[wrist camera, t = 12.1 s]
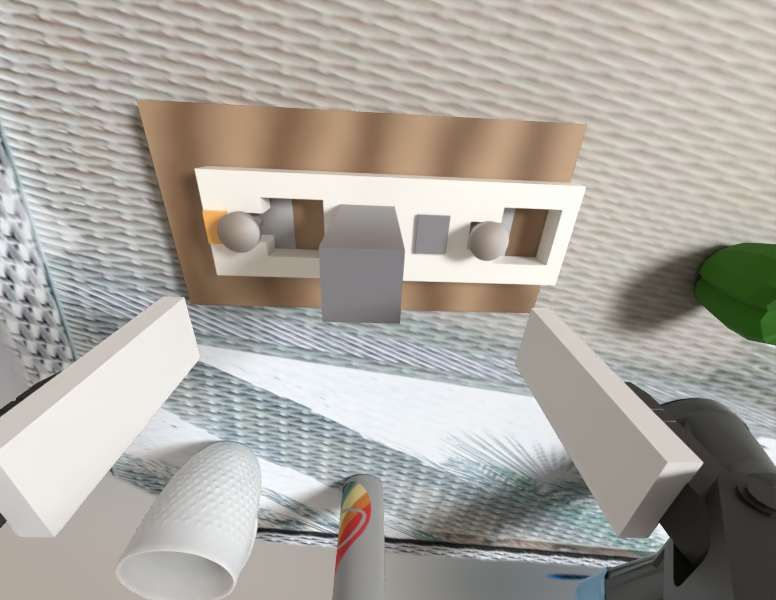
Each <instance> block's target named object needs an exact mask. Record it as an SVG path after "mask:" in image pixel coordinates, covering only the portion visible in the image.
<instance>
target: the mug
mask: <svg viewBox="0 0 776 600" xmlns="http://www.w3.org/2000/svg"><path fill="white" fill-rule="evenodd" d="M260 489H261V473H260V466H259V463H258V460H257V457H256V455H255V454H254V452H253V451H252V450H251V449H250V448H248V447H247V446H245V445H242V444H240V443H237V442H231V441H223V442H217V443H214V444H212V445H210V446H208V447H206V448H204V449H203V450H201V451H200V452H199V453H197V454H195V455H194V456H193V457H192V458H191V459H189V461H188V462H187V463H186V464H184V465H183V467H181V469H180V470H179V471H178V472H177V473H176V474H175V475H174V476H173V477H172V479H171V480H170V481H169V482H168V484H167V485H166V486H165V488H164V489H163V490H162V492H161V493H160V494H159V496H158V498H157V499H156V501H155V502H154V503H153V505H152V506H151V508H150V510H149V511H148V513H147V514H146V515H145V518H144V519H143V520H142V523H141V524H140V526H139V527H138V528H137V530H136V533H135V534H134V536H133V537H132V539H131V541H130V543H129V545H128V546H127V548H126V549H125V551H124V553H123V554H122V556H121V557H120V559H119V561H118V563H117V565H116V568H115V574H116V577H117V579H118V580H119V582H120V583H121V584H122V585H123V586H124V587H126V588H127V589H128V590H129V591H131V592H133V593H135V594H136V595H139V596H141V597H144V598H147V599H149V600H220V599H222V598H224V597H226V596H228V595H229V594H230V593H231V592H232V591H233V590H234V588H235V586H236V583H237V580H238V577H239V574H240V571H241V570H242V568H243V567H244V565H245V564H246V562H247V560H248V558H249V556H250V553H251V550H252V548H253V545H254V542H255V538H256V533H257V523H258V520H257V513H258V508H259V501H260V493H261V491H260Z"/></svg>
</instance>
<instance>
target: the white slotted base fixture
mask: <svg viewBox="0 0 776 600" xmlns="http://www.w3.org/2000/svg"><path fill="white" fill-rule="evenodd" d="M195 174H196V179H197V183H198V188H199V192H200V197H201V202H202V206H203V211H202V213H203V218H204V223H205V227H206V232H207V237H208V241H209V244H211V248H212V253H213V258H214V262H215V267H216V272H217V275H226V276H260V277H294V278H320V281H321V299H322V318H323V322H358V323H400V313H401V300H402V286H403V281H428V282H462V283H496V284H530V285H556V281H557V278H558V275H559V272H560V269H561V266H562V262H563V259H564V256H565V253H566V250H567V246H568V243H569V240H570V237H571V234H572V231H573V227H574V224H575V221H576V218H577V215H578V212H579V208H580V205H581V202H582V199H583V196H584V192H585V189H586V186H583V185H579V184H575V183H570V182H548V181H527V180H505V179H483V178H461V177H439V176H417V175H395V174H373V173H351V172H330V171H308V170H286V169H264V168H242V167H220V166H205V167H200V168H195ZM269 198H288V199H312V200H323V209H324V231H325V236H324V238H323V240H322V242H321V244H320V246H319V250H312V249H282V248H275V242H274V235H263V234H262V236H261V240H260V242H259V243H258V244H257V245H256V246H255V247H254V248H253V249H252V250H251V251H248V252H245V253H238V252H234V251H232V250H230V249H228V248H227V247H225V246H224V245H223V244H222V242H221V241H220V239H219V237H218V234H217V224H218V222H219V220H220V219H221V218H222V217H223V216H225V215H227V214H229V213H231V212H234V211H242V212H246V213H264V212H265V211H267V210H268V209H269V208H270V200H269ZM504 207H505V208H529V209H549V211H548V215H547V218H546V222H545V226H544V229H543V233H542V237H541V240H540V244H539V248H538V251H537V255H536V257H518V256H500V257H498V258H497V259H494V260H491V261H483V260H480V259H478V258H476V257H475V256H474V255H473V253H472V252H471V251H470V249H469V247H468V237H469V231H470V225H471V222H485V221H493V222H496V223H501V222H502V217H503V212H504Z"/></svg>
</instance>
